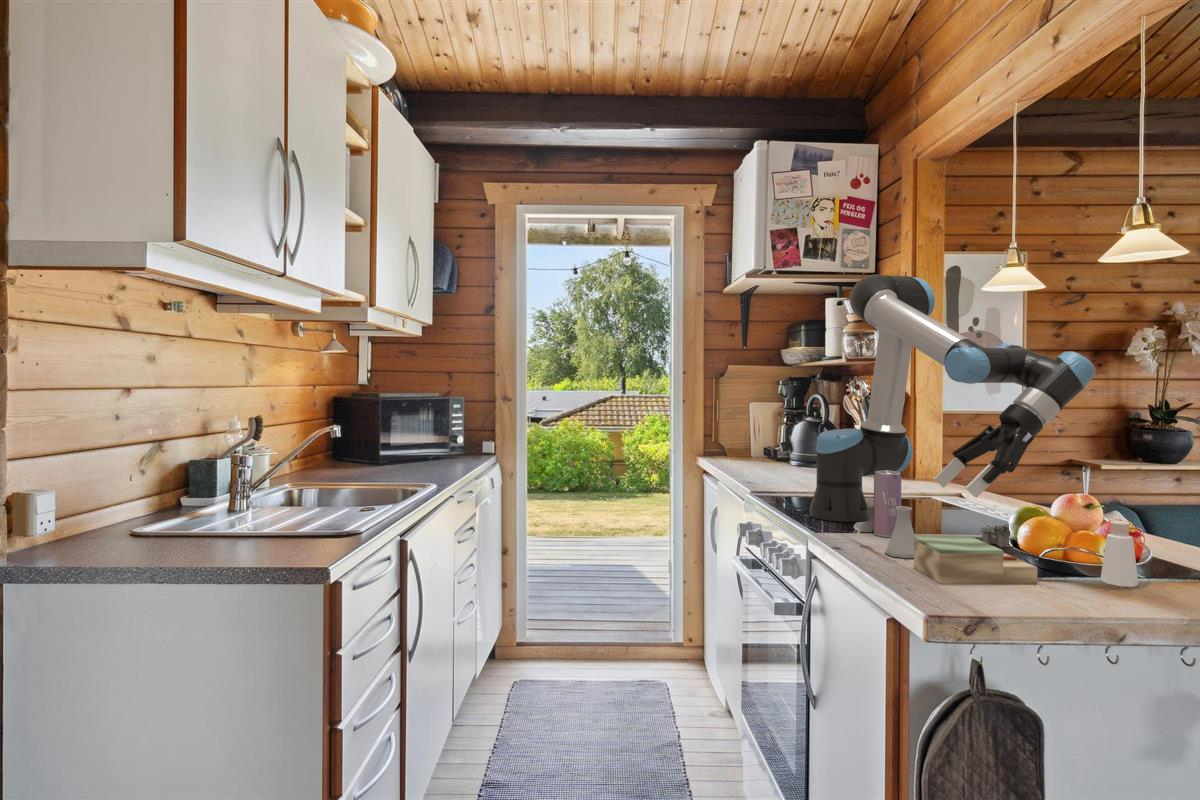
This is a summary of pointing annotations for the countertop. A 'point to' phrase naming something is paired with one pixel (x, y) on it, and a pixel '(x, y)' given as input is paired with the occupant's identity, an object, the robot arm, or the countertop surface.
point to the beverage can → (886, 501)
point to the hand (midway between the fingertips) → (953, 487)
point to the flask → (902, 535)
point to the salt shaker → (1119, 557)
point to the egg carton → (996, 535)
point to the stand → (969, 562)
